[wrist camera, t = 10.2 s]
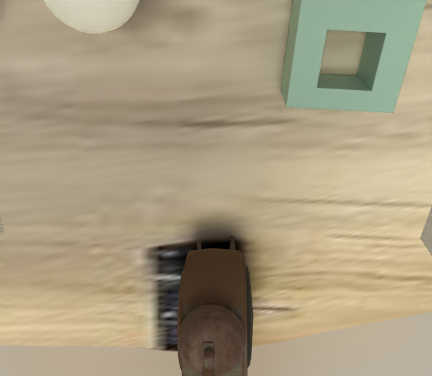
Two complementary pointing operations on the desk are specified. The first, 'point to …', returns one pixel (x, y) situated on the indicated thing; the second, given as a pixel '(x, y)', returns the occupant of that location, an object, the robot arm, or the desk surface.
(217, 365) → the alarm clock
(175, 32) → the desk surface
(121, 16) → the light bulb
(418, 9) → the socket block
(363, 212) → the desk surface
